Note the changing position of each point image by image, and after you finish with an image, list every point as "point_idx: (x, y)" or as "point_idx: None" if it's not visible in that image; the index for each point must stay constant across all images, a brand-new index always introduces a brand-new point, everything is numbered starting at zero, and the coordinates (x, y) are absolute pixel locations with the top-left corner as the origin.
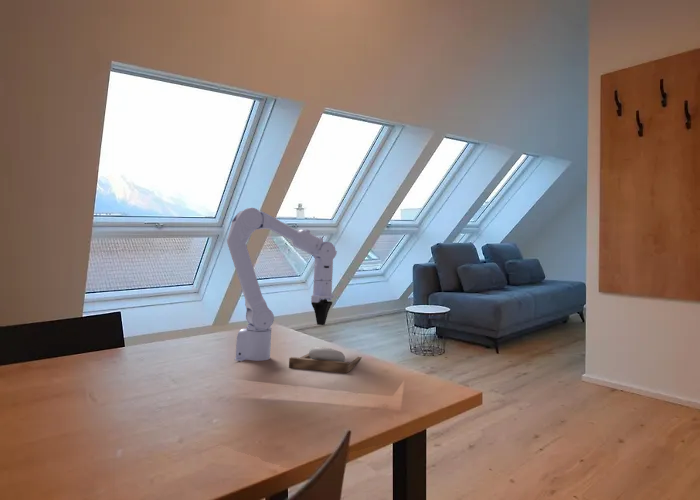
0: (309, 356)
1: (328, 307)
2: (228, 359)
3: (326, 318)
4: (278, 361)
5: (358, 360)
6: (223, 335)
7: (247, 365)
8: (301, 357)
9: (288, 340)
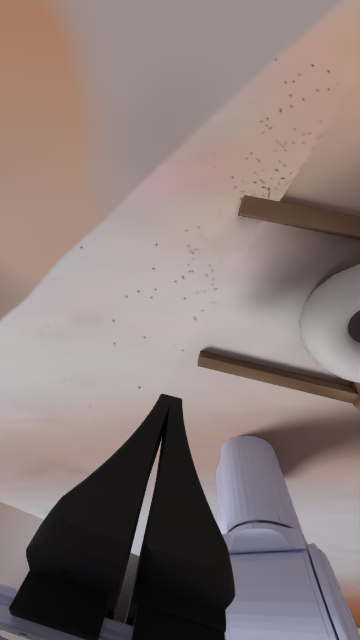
0: (247, 366)
1: (142, 492)
2: None
3: (151, 413)
4: (281, 420)
5: (311, 208)
6: (40, 504)
7: (331, 464)
8: (285, 384)
9: (18, 414)
